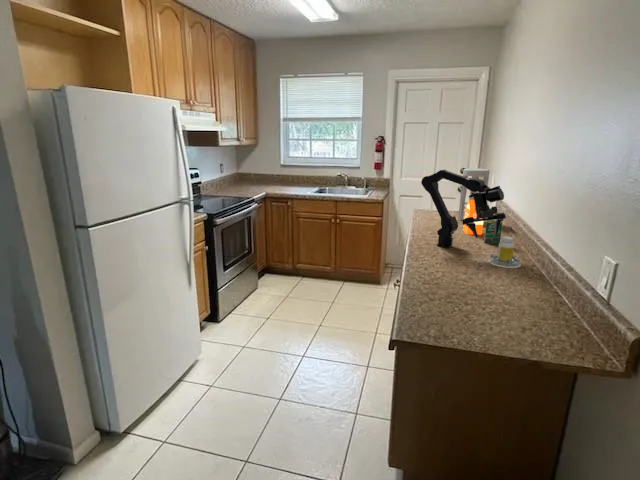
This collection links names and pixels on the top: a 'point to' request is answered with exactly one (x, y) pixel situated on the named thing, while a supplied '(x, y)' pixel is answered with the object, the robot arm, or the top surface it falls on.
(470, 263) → the top surface
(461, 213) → the stool
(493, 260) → the steel ashtray
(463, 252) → the top surface
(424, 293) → the top surface
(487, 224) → the coffee box
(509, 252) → the pill bottle
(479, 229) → the orange juice
